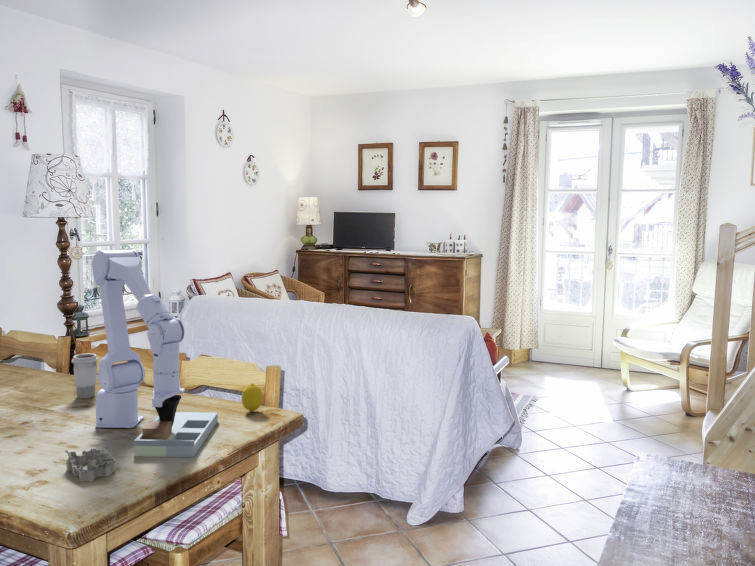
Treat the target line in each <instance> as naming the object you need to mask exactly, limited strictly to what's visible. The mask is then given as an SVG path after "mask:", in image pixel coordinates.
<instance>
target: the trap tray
mask: <svg viewBox="0 0 755 566" xmlns="http://www.w3.org/2000/svg"><path fill="white" fill-rule="evenodd" d="M218 416H219V415H218V412H201V411H200V412H199V411H198V412H197V411H194V412H192V411H188V412H187V411H179V412H178V411H176V413H175V418H174V423H173V426H172V434H171V435H170V436H169V438H168V439H167V440H159V439H142V432H141V433H140V434H139V435H138V436H137V437H136V438H134V440H133V456H134V457H160V458H161V457H166V458H167V457H169V458H170V457H171V458H172V457H173V458H174V457H176V458H190V457H191V458H194V457H195V455H196V454H197V452H198V451H199V450H200V449H201V447H202V445H203V444H204V442H205V441H206V439H207V438H208V436H209V435H210V433H211V432H212V431H213V429H214V428H215V427H216V424H218V422H219V420H218V418H219V417H218ZM153 421H160V419H159V415H157V417H156V418H154V420H153Z"/></svg>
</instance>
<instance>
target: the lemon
mask: <svg viewBox="0 0 755 566" xmlns="http://www.w3.org/2000/svg"><path fill="white" fill-rule="evenodd" d="M241 403H242V406H243V407H244V408H245V410H247V411H250V412H251V413H254V411H256V410H258V409H259V408H260V406H261V405H262V403H263V392H262V390H261V388H260V387H259V385H256V384H254V383H250V384H248V385H247V386H245V387H244V389H243V391H242V394H241Z"/></svg>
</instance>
